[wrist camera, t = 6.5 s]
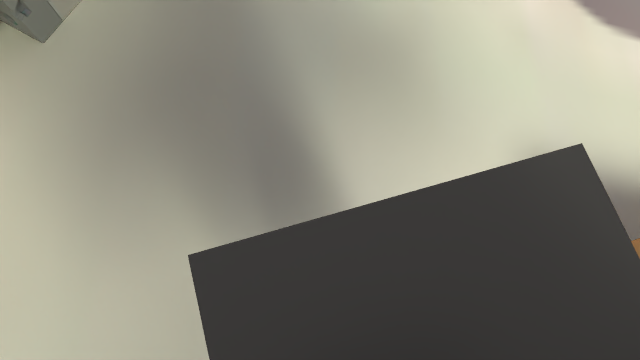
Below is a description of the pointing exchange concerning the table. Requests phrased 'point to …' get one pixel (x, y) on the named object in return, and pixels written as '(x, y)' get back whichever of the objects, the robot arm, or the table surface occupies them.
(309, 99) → the table surface
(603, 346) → the dark grey block
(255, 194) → the table surface
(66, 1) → the circuit breaker
